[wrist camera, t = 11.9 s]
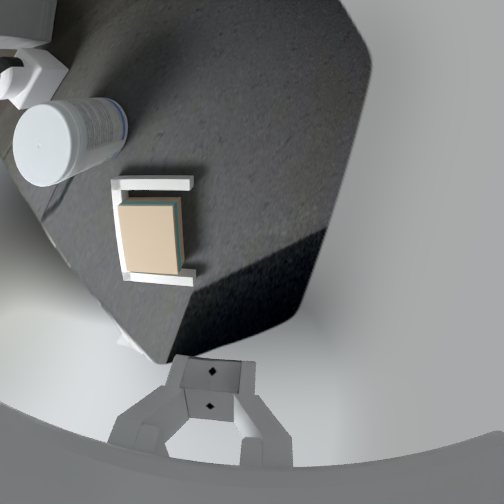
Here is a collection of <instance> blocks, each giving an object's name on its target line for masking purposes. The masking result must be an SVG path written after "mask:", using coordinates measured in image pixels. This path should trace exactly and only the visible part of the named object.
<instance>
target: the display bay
mask: <svg viewBox="0 0 504 504" xmlns="http://www.w3.org/2000/svg"><path fill="white" fill-rule="evenodd" d="M193 186H194V176H193V175H128V176H117V177H115V178H113V179H111V189H112V200H113V210H114V219H115V228H116V236H117V243H118V250H119V257H120V263H121V269H122V275H123V280H127V281H137V282H148V283H159V284H171V285H183V286H193V285H194V283H195V280H196V269H183V268H181V270H180V272H179V273H178V274H161V273H146V272H131V271H127V269H126V263H125V257H124V251H123V245H122V238H121V231H120V223H119V216H118V207H117V206H118V205H119V204H120V203H121V202H124V201H125V200H126V199H128V198H129V193H128V190H184V191H190V190H191V189H192V188H193Z"/></svg>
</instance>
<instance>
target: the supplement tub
mask: <svg viewBox="0 0 504 504" xmlns="http://www.w3.org/2000/svg"><path fill="white" fill-rule="evenodd" d="M127 133H128V122H127V117H126V114H125V112H124V110H123V109H122V107H121V106H120V105H119V104H118V103H117V102H115V101H114V100H111V99H109V98H77V99H63V100H53V101H47V102H43V103H40V104H36V105H34V106H32V107H31V108H29V109H28V110H27V111H26V112H25V113H24V114H23V115H22V117H21V118H20V120H19V122H18V124H17V126H16V129H15V132H14V138H13V153H14V158H15V162H16V165H17V167H18V169H19V171H20V173H21V174H22V175H23V177H24V178H25V179H26V180H27V181H29V182H30V183H32V184H34V185H36V186H41V187H45V186H50V185H52V184H57V183H59V182H61V181H63V180H65V179H68V178H70V177H72V176H74V175H76V174H78V173H80V172H82V171H84V170H87V169H89V168H91V167H93V166H95V165H98V164H100V163H102V162H105V161H107V160H109V159H111V158H113V157H114V156H115V155H117V154H118V153H119V151H120V150H121V149H122V147H123V146H124V144H125V141H126V138H127Z"/></svg>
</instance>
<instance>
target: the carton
mask: <svg viewBox="0 0 504 504" xmlns="http://www.w3.org/2000/svg"><path fill="white" fill-rule="evenodd" d="M117 207H118V216H119V223H120V231H121V238H122V245H123V251H124V257H125V263H126V269H127V271H131V272H146V273H161V274H178V273H179V272H180V270H181V267H182V265H183V263H184V261H185V258H184V244H183V229H182V211H181V197H129V198H128V199H126V200H125V201H124V202H121V203H120V204H119V205H118V206H117Z"/></svg>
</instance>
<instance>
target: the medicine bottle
mask: <svg viewBox="0 0 504 504" xmlns="http://www.w3.org/2000/svg"><path fill="white" fill-rule="evenodd" d="M68 71H69V69H68V68H67V67H66V66H64V65H63V64H62V63H61V62H60V61H59V60H57V59H56V58H55V57H54V56H53V55H52V54H50V53H49V52H48V51H47V50H40V49H32V48H23V47H20V48H19V49H18V51H17V52H16V54H15V56H14V57H1V58H0V100H1V99H9V100H10V101H11V102H12V103H13V104H14V105H15V106H16V107H17V108H18V109H19V110H20V109H28V108H31V107H32V106H34V105H36V104H40V103H43V102H47V101H50V100H51V98H52V96H53V95H54V93H55V91H56V90H57V88H58V87H59V85H60V83H61V82H62V80H63V79H64V77H65V76H66V74H67V73H68Z"/></svg>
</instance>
